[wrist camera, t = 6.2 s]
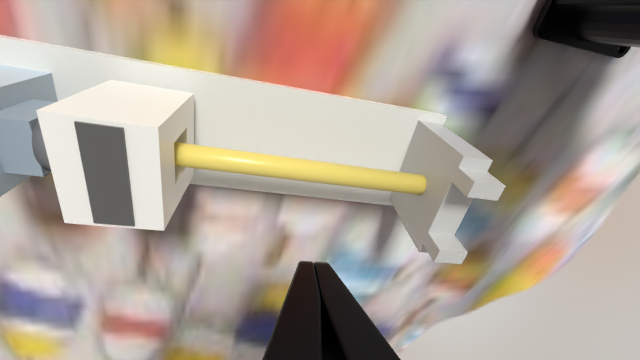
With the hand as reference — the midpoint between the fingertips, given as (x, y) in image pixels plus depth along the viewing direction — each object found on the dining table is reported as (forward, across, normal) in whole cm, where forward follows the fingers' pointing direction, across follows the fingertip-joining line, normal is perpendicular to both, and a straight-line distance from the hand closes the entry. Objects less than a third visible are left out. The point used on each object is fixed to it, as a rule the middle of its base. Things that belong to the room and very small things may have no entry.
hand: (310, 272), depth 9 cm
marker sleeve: (+11, +8, +1) cm, 13 cm away
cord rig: (+12, +3, +1) cm, 12 cm away
